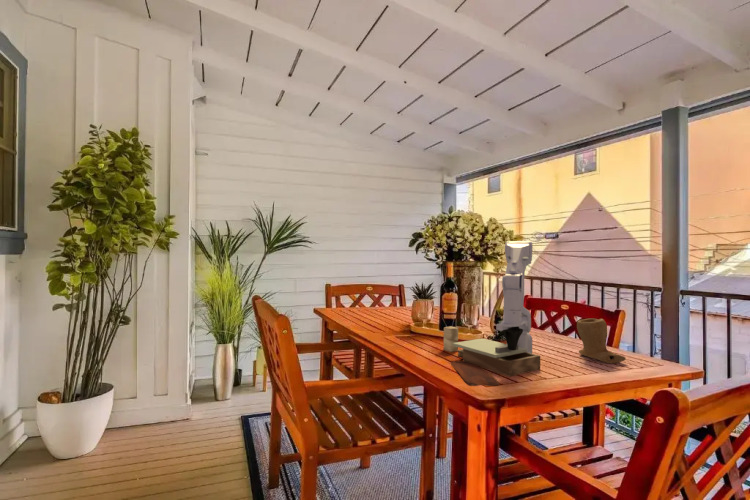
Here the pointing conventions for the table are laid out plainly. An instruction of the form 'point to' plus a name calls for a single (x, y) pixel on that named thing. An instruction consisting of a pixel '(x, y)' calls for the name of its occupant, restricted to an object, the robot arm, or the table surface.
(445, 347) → the beige tall block
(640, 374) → the table surface
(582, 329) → the brown suede boot
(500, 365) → the shallow rectangular box
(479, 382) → the wooden tablet
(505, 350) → the lid
